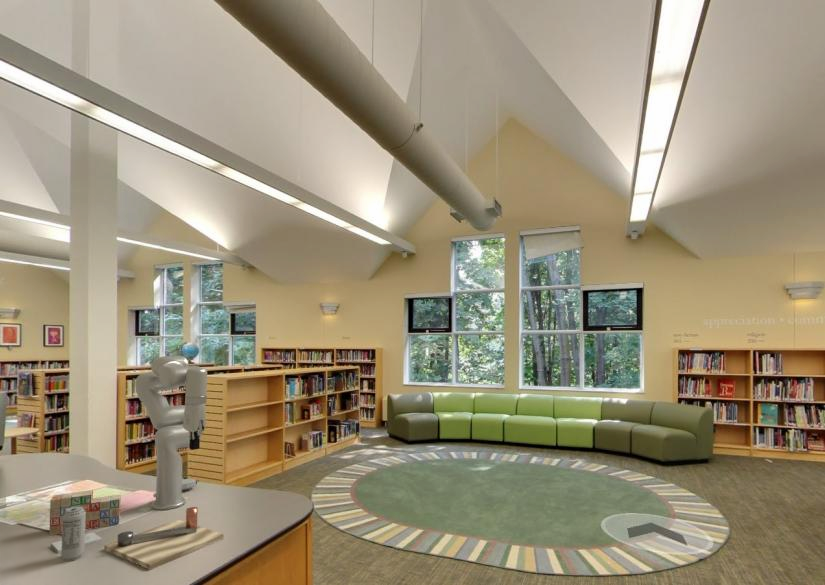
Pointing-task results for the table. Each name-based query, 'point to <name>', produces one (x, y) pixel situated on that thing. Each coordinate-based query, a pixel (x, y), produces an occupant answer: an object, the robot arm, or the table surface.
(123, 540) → the lever
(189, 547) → the board
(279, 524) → the table surface
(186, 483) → the robot toy
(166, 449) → the robot arm
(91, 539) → the external hard drive
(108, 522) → the stack of blocks
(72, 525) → the energy drink can
